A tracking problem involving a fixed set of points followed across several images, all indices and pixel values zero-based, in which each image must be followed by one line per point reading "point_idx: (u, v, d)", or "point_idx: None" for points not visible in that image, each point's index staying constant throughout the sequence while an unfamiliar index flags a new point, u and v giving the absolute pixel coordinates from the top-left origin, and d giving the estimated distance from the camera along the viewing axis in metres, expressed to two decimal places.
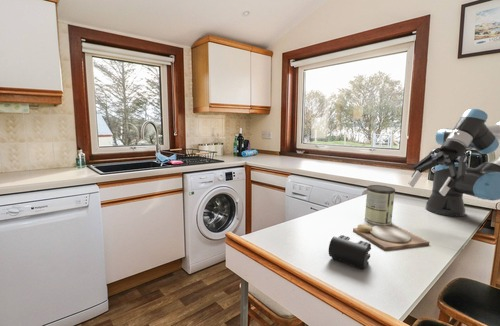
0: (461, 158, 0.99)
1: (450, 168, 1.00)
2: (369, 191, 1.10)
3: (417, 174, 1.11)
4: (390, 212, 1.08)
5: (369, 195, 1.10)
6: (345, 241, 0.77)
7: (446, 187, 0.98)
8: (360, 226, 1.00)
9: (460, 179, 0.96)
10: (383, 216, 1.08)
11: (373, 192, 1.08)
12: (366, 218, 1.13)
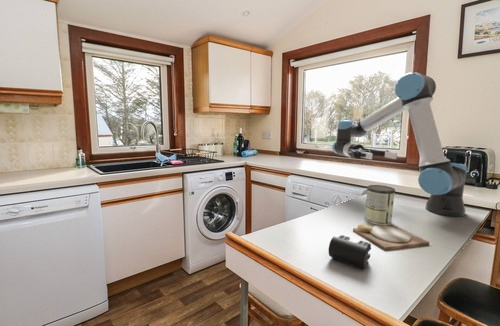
0: (351, 154, 1.36)
1: None
2: (369, 191, 1.10)
3: (386, 156, 1.31)
4: (390, 212, 1.08)
5: (369, 195, 1.10)
6: (345, 241, 0.77)
7: (366, 156, 1.24)
8: (360, 226, 1.00)
9: (356, 154, 1.28)
10: (383, 216, 1.08)
11: (373, 192, 1.08)
12: (366, 218, 1.13)
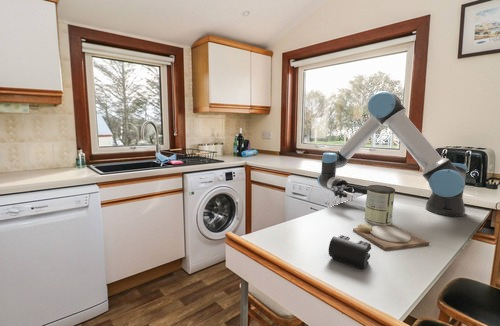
0: None
1: None
2: (369, 191, 1.10)
3: None
4: (390, 212, 1.08)
5: (369, 195, 1.10)
6: (345, 241, 0.77)
7: (347, 196, 1.20)
8: (360, 226, 1.00)
9: (337, 193, 1.24)
10: (383, 216, 1.08)
11: (373, 192, 1.08)
12: (366, 218, 1.13)
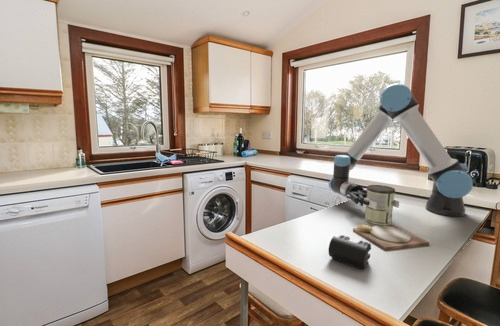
0: None
1: None
2: (369, 191, 1.10)
3: None
4: (390, 212, 1.08)
5: (369, 195, 1.10)
6: (345, 241, 0.77)
7: (370, 204, 1.09)
8: (360, 226, 1.00)
9: (358, 200, 1.12)
10: (383, 216, 1.08)
11: (373, 192, 1.08)
12: (366, 218, 1.13)
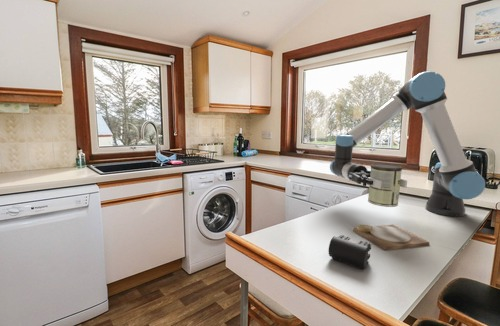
0: None
1: None
2: (373, 169, 0.99)
3: None
4: (396, 192, 0.97)
5: (373, 174, 0.99)
6: (345, 241, 0.77)
7: (374, 184, 0.98)
8: (360, 226, 1.00)
9: (360, 180, 1.01)
10: (389, 197, 0.96)
11: (377, 170, 0.97)
12: (369, 200, 1.01)
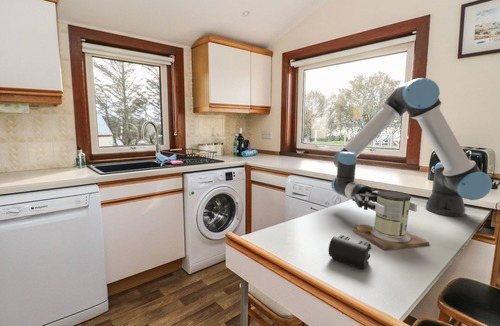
0: None
1: None
2: (380, 198, 0.94)
3: None
4: (405, 223, 0.92)
5: (380, 202, 0.94)
6: (345, 241, 0.77)
7: (376, 208, 0.93)
8: (360, 226, 1.00)
9: (361, 203, 0.96)
10: (397, 228, 0.91)
11: (385, 199, 0.92)
12: (376, 229, 0.96)
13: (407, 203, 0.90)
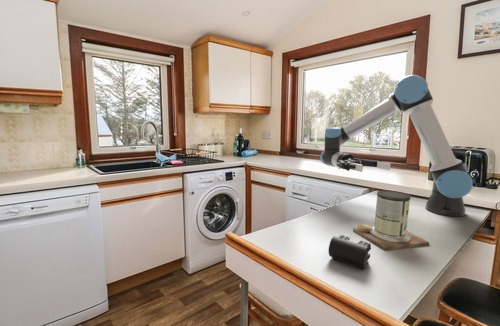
0: (339, 165, 1.22)
1: None
2: (380, 198, 0.94)
3: (379, 166, 1.16)
4: (405, 223, 0.92)
5: (380, 203, 0.94)
6: (345, 241, 0.77)
7: (356, 168, 1.10)
8: (360, 226, 1.00)
9: (344, 165, 1.14)
10: (397, 228, 0.91)
11: (385, 199, 0.92)
12: (376, 229, 0.96)
13: (407, 203, 0.90)
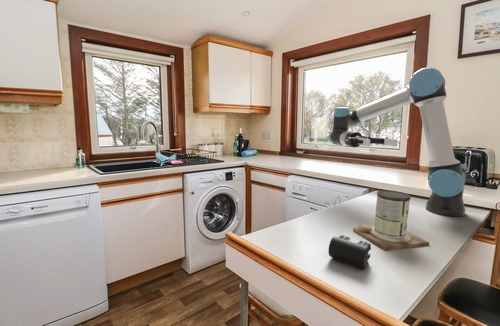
0: (347, 142, 1.26)
1: None
2: (380, 198, 0.94)
3: (386, 143, 1.20)
4: (405, 223, 0.92)
5: (380, 203, 0.94)
6: (345, 241, 0.77)
7: (363, 142, 1.14)
8: (360, 226, 1.00)
9: (352, 140, 1.18)
10: (397, 228, 0.91)
11: (385, 199, 0.92)
12: (376, 229, 0.96)
13: (407, 203, 0.90)
